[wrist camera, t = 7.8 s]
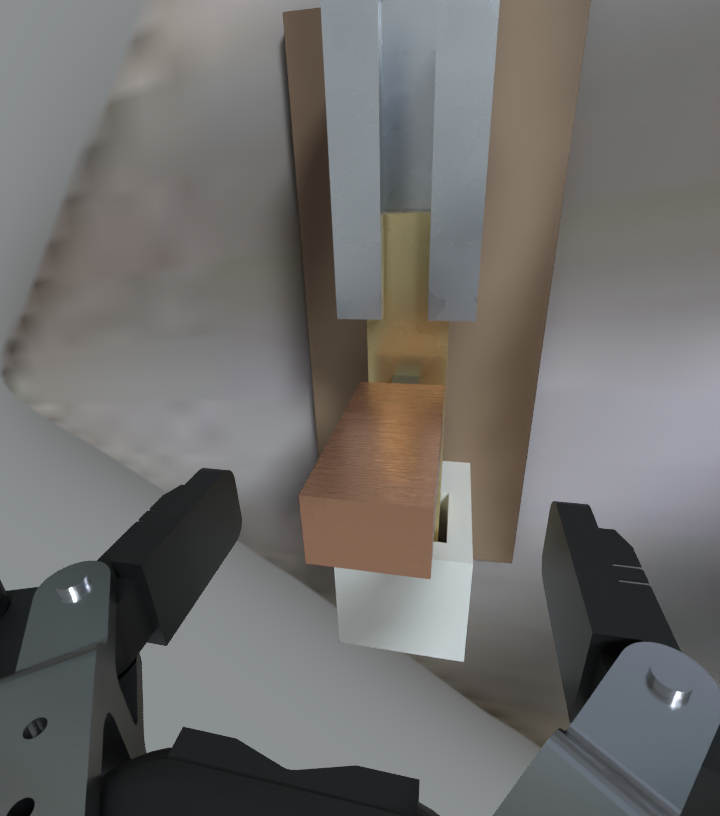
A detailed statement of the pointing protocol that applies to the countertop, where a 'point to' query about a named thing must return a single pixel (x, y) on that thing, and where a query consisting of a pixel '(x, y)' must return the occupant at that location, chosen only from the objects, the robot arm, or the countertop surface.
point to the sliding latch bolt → (387, 430)
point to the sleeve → (408, 141)
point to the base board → (499, 264)
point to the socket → (417, 588)
